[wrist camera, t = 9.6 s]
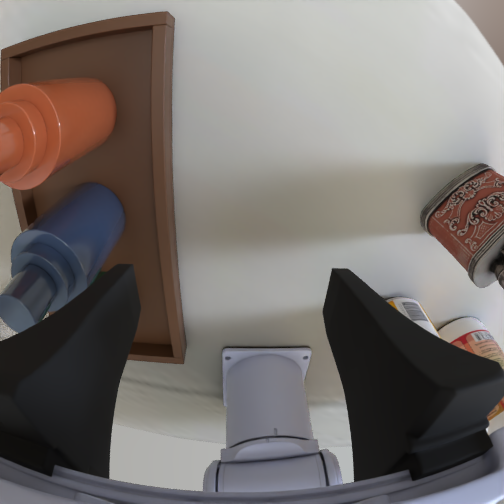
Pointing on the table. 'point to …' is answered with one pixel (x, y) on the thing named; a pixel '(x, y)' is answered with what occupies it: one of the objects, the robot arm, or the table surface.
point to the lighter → (471, 223)
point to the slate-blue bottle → (61, 254)
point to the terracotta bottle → (51, 127)
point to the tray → (121, 156)
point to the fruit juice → (480, 343)
